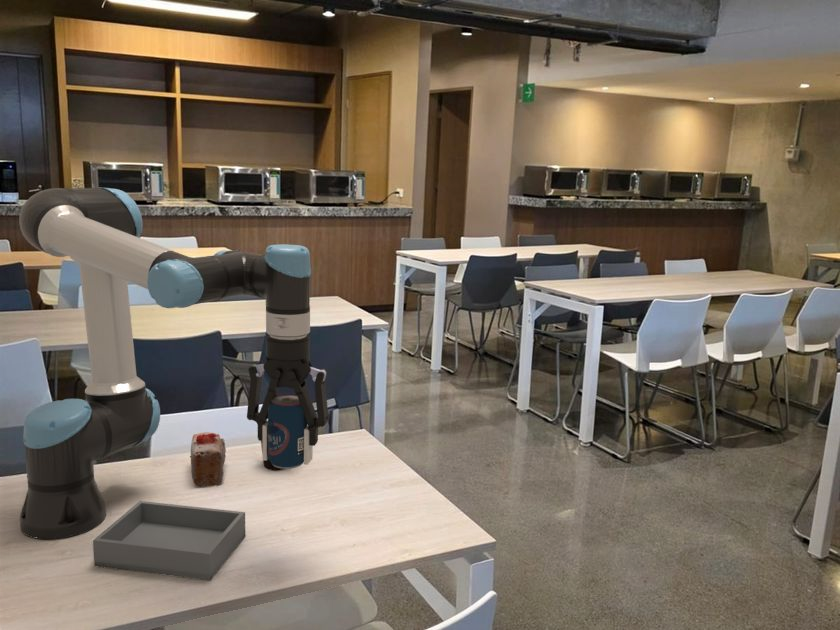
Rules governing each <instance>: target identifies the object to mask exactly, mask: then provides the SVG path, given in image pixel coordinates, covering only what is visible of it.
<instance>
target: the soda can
mask: <svg viewBox="0 0 840 630" xmlns="http://www.w3.org/2000/svg"><path fill="white" fill-rule="evenodd" d="M267 421H268V458H269V460H270V462H271V463H272V465H273V466H275V467H277V468H283V469H284V470H287V469H288V470H290V469H295V468H299V467H301V466H302V465H304V429H305V428H306V427H307V426H308V424H307V421H306V419H305V416H304V413H303V410H302V407H301V405H300V402H299V399H298V396H297V394H296V393H280V394H277V395H276V397H275V398H274V399H273V400H271V403H270V406H269V407H268V419H267Z"/></svg>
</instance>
